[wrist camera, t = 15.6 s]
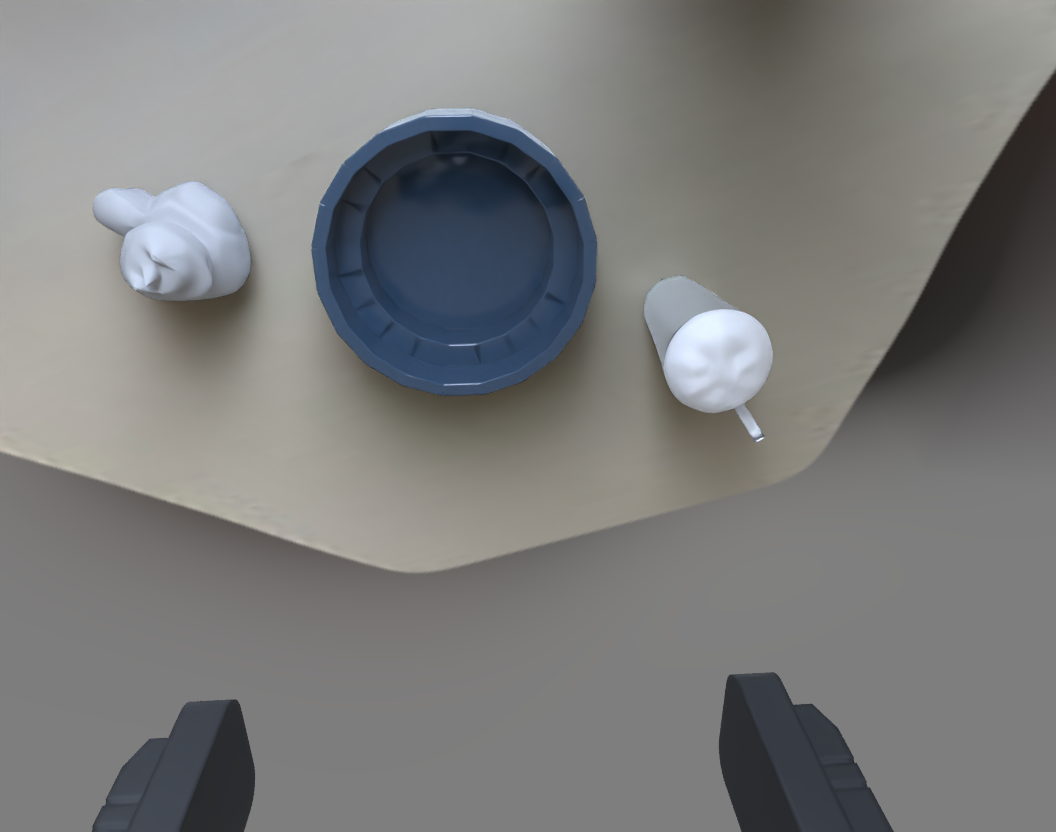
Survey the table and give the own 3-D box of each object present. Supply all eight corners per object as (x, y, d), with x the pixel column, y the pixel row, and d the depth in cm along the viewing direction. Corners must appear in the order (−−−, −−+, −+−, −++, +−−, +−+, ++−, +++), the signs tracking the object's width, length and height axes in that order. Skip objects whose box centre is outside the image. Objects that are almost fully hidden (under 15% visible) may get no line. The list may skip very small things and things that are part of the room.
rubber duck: (229, 313, 38) (170, 373, 31) (102, 233, 36) (7, 276, 29) (285, 225, 36) (236, 266, 29) (155, 136, 34) (68, 156, 27)
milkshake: (658, 374, 41) (709, 465, 32) (615, 289, 39) (657, 360, 30) (736, 335, 40) (811, 415, 31) (697, 245, 38) (766, 304, 29)
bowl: (318, 110, 34) (293, 117, 30) (584, 105, 35) (600, 112, 30) (348, 360, 39) (331, 400, 35) (580, 352, 40) (593, 391, 35)
